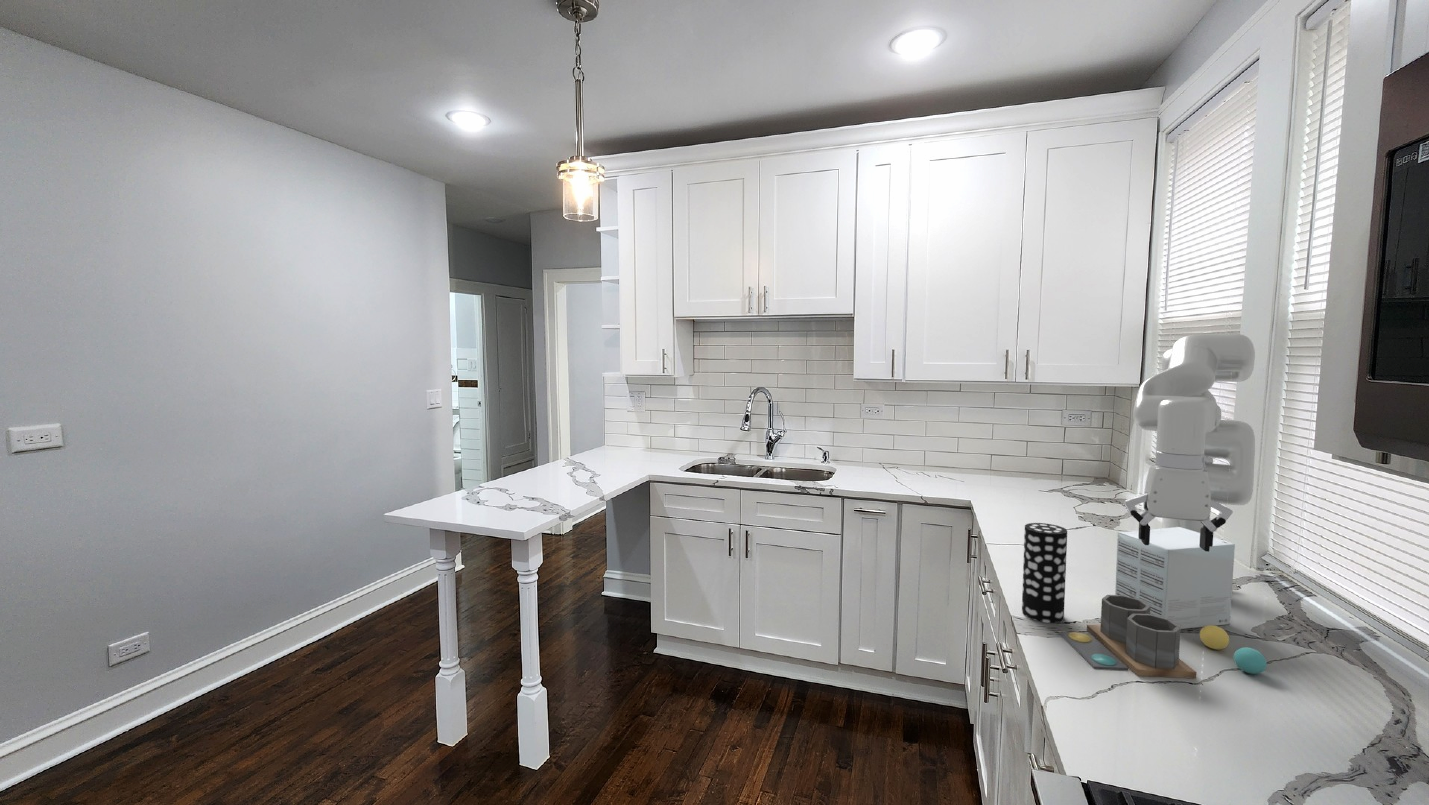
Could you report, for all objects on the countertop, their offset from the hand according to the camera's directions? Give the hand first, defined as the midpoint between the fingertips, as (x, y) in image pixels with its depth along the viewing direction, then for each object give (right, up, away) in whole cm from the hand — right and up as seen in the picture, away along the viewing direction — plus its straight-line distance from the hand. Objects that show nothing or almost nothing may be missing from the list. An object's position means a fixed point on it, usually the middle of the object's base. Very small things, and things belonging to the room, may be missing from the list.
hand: (1174, 546), depth 119 cm
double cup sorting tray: (-8, -21, -1) cm, 22 cm away
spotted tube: (-18, -19, +16) cm, 31 cm away
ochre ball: (+8, -20, 0) cm, 22 cm away
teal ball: (+7, -21, -9) cm, 24 cm away
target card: (-17, -21, -1) cm, 27 cm away
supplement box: (+10, -19, +15) cm, 26 cm away
